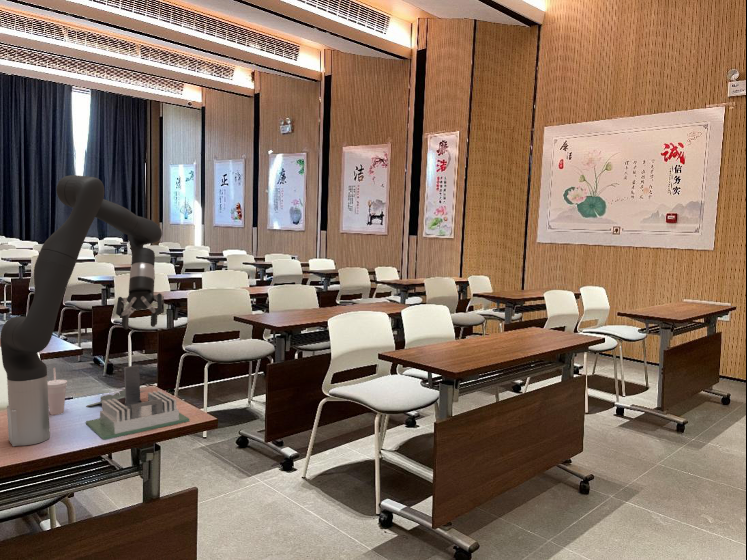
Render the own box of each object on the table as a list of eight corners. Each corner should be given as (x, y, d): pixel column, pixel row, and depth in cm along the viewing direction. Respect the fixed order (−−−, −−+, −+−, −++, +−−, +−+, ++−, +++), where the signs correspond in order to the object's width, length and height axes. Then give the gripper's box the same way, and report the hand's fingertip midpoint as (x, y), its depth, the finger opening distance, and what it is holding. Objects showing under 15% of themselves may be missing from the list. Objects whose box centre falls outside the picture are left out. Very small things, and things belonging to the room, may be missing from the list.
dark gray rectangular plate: (125, 406, 174) (124, 367, 172) (124, 405, 174) (123, 367, 173) (141, 403, 176) (139, 365, 175) (139, 402, 177) (138, 364, 176)
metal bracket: (149, 383, 195) (111, 394, 182) (153, 400, 195) (115, 413, 182) (121, 390, 202) (82, 401, 189) (125, 406, 202) (86, 419, 188)
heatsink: (103, 439, 159) (102, 410, 158) (85, 423, 171) (84, 396, 171) (189, 421, 174) (188, 394, 173) (167, 407, 187) (166, 383, 186)
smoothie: (64, 408, 186) (62, 364, 185) (71, 413, 181) (69, 368, 180) (42, 413, 181) (40, 368, 180) (49, 417, 177) (46, 371, 176)
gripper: (115, 277, 187) (111, 325, 181) (160, 273, 187) (157, 321, 182) (124, 285, 194) (121, 332, 188) (168, 281, 194) (166, 328, 189)
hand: (139, 327), depth 185 cm, fingers open, 8 cm apart
